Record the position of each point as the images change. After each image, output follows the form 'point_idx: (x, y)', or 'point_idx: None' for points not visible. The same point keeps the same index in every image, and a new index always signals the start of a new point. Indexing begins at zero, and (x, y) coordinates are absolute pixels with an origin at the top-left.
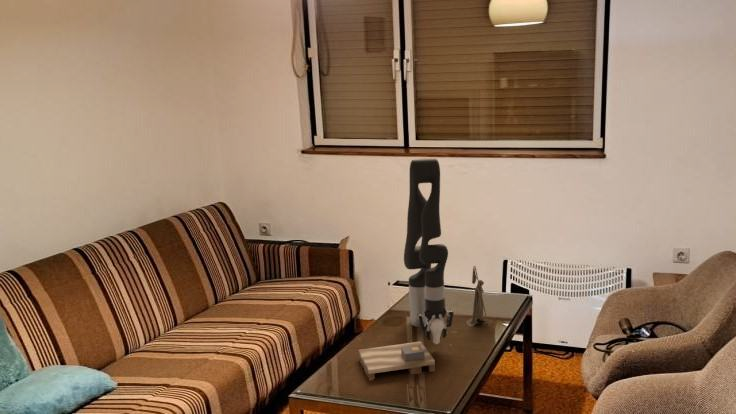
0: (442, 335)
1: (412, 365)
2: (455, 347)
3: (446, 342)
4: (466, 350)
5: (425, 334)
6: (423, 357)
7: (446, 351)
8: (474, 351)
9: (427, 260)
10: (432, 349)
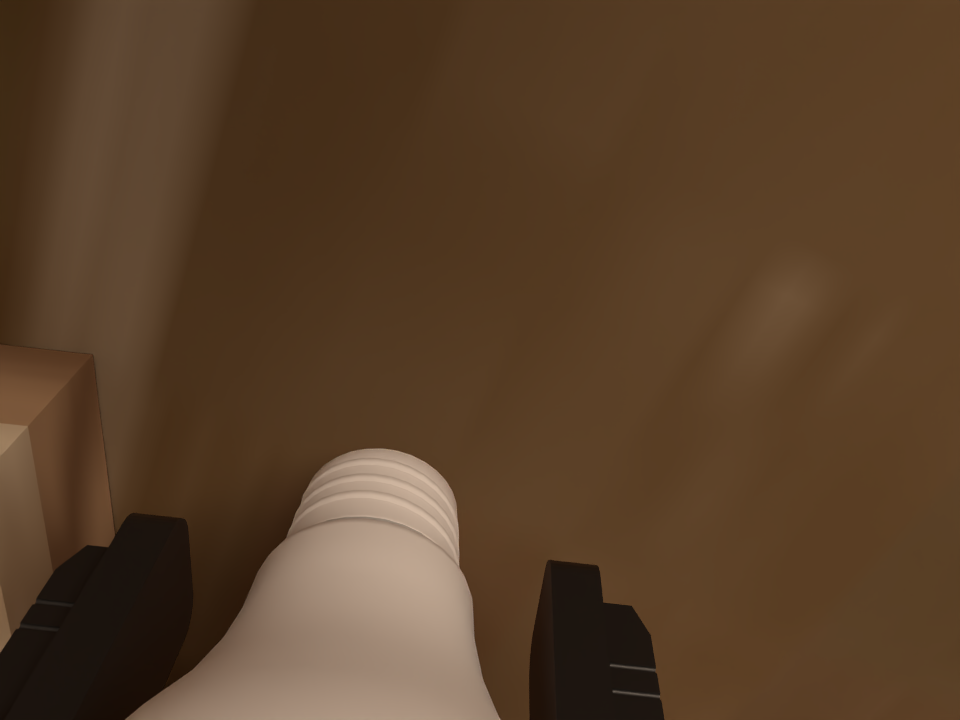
0: (542, 628)
1: None
2: (778, 466)
3: (764, 179)
4: (866, 628)
5: (28, 616)
6: None
7: (541, 536)
8: (949, 697)
9: None
10: (333, 370)
